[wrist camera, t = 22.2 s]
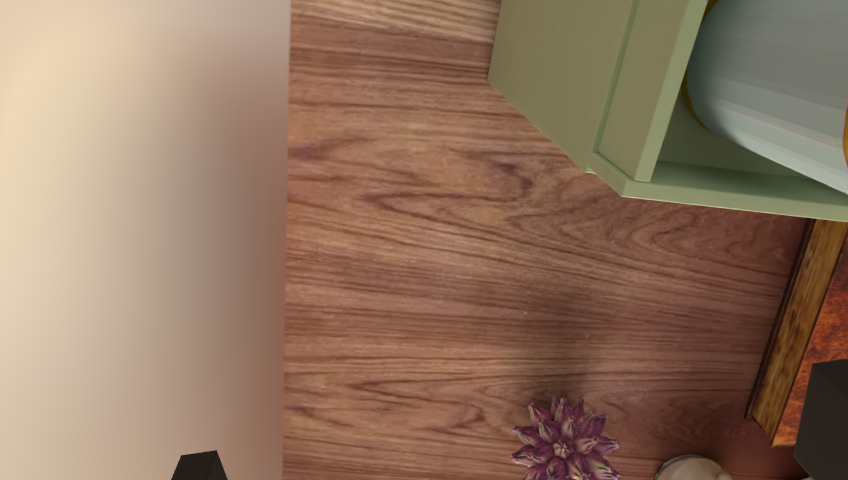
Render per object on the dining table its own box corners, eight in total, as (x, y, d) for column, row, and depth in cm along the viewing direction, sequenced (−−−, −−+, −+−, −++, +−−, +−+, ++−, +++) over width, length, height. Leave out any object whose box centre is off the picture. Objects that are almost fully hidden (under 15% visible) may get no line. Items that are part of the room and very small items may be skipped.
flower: (601, 417, 68) (523, 476, 68) (558, 354, 63) (474, 417, 63) (662, 486, 58) (570, 556, 58) (618, 417, 53) (517, 493, 53)
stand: (486, 81, 49) (618, 204, 22) (514, -73, 44) (728, -161, 17) (615, 99, 51) (889, 234, 23) (656, -49, 46) (1061, -94, 19)
